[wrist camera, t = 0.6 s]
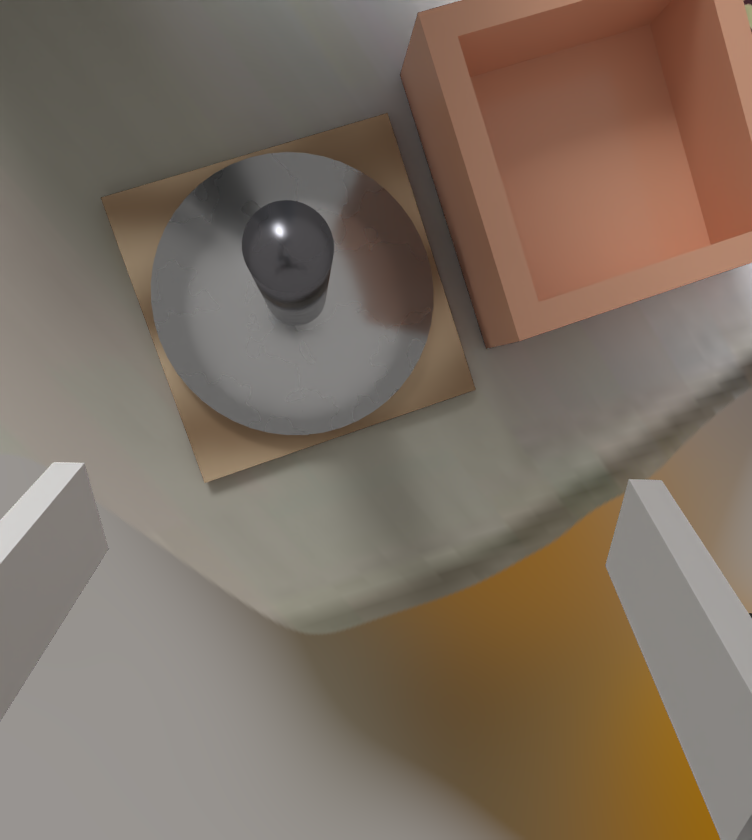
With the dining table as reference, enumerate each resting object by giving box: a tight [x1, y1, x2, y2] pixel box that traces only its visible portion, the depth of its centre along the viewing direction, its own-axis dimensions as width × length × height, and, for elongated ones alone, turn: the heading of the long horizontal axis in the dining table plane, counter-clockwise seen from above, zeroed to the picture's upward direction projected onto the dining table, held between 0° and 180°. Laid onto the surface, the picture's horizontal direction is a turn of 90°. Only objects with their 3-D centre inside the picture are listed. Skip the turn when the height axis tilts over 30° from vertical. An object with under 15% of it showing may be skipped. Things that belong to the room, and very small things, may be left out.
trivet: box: [101, 113, 476, 483], centre depth 33 cm, size 16×16×1 cm
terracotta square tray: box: [400, 0, 752, 349], centre depth 32 cm, size 16×16×6 cm
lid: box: [151, 152, 434, 435], centre depth 27 cm, size 15×15×12 cm
